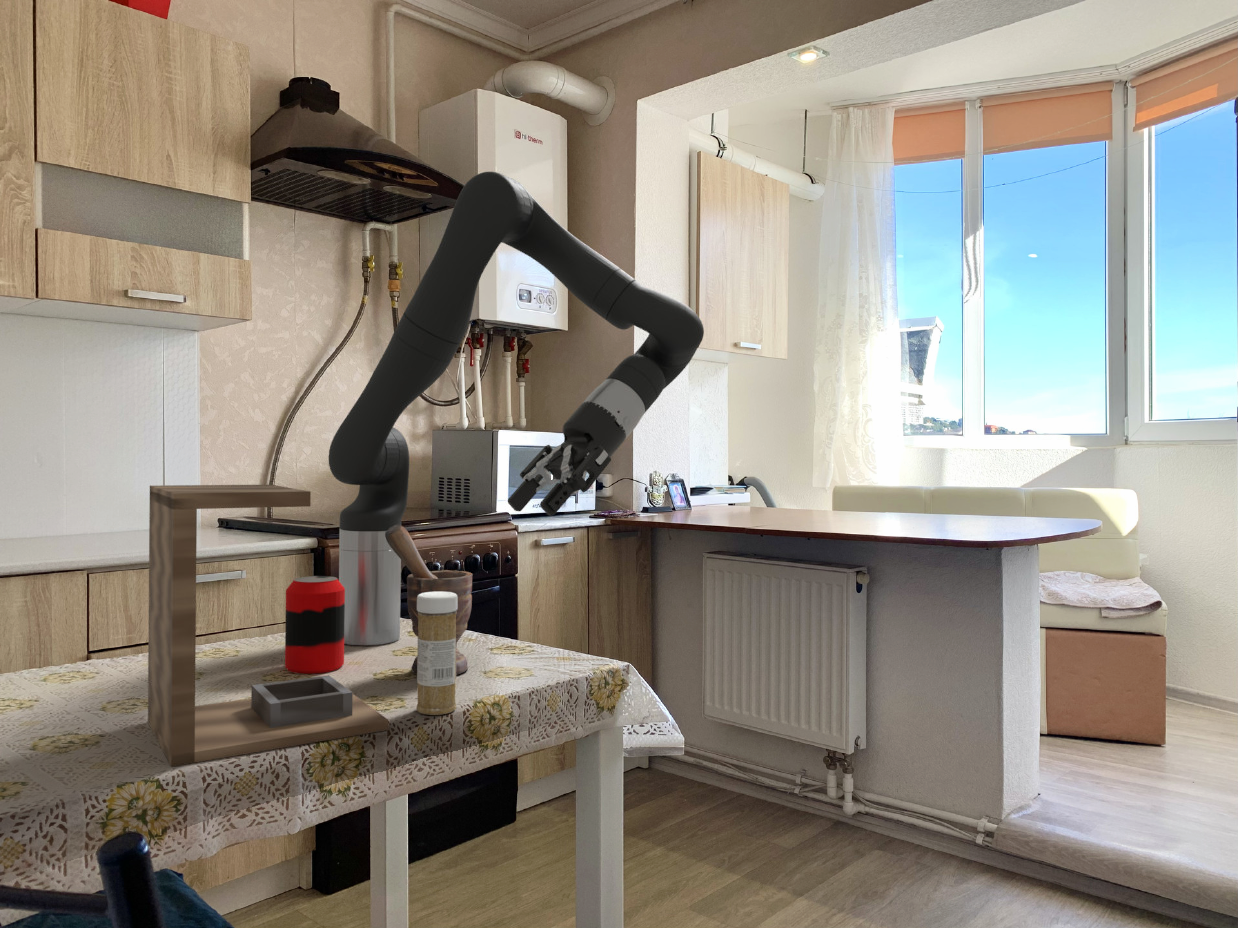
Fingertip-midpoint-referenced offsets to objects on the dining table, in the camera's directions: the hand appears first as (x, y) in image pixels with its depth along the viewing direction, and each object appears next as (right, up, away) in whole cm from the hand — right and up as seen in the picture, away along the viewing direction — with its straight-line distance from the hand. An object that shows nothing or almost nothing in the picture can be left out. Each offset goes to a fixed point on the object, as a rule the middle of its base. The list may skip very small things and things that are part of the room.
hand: (528, 508), depth 114 cm
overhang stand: (-26, -22, -17) cm, 39 cm away
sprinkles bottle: (-10, -23, -11) cm, 27 cm away
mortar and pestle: (-14, -22, +6) cm, 27 cm away
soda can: (-30, -22, +8) cm, 38 cm away
